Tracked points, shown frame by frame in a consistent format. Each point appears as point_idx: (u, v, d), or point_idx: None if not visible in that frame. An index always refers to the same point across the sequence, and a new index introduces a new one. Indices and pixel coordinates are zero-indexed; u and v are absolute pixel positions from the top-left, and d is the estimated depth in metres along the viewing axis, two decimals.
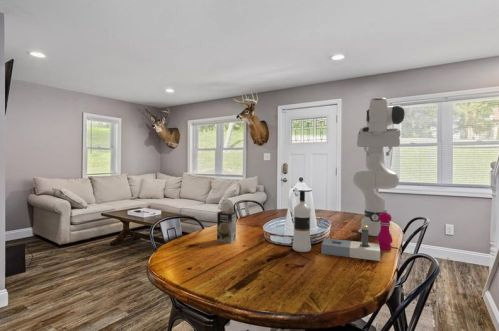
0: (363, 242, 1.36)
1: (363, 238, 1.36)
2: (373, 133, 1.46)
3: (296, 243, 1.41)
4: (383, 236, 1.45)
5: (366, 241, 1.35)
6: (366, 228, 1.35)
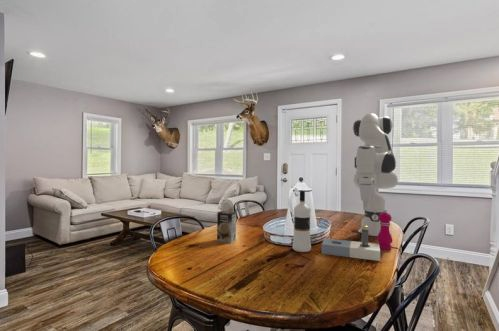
0: (363, 242, 1.36)
1: (363, 238, 1.36)
2: None
3: (296, 243, 1.41)
4: (383, 236, 1.45)
5: (366, 241, 1.35)
6: (366, 228, 1.35)
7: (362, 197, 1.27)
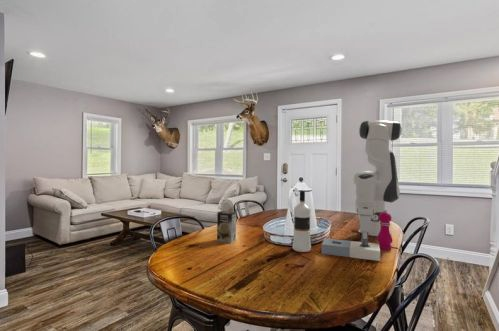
0: (363, 242, 1.36)
1: (363, 238, 1.36)
2: None
3: (296, 243, 1.41)
4: (383, 236, 1.45)
5: (366, 241, 1.35)
6: None
7: (362, 228, 1.28)
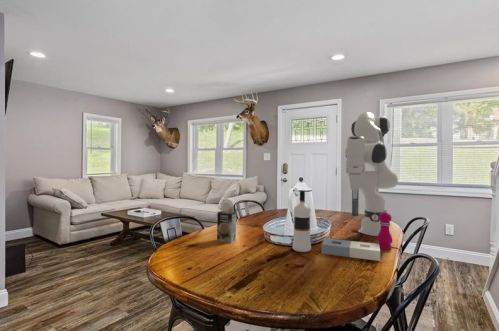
0: (353, 202, 1.37)
1: (353, 198, 1.37)
2: None
3: (296, 243, 1.41)
4: (383, 236, 1.45)
5: (357, 201, 1.36)
6: None
7: (351, 186, 1.29)
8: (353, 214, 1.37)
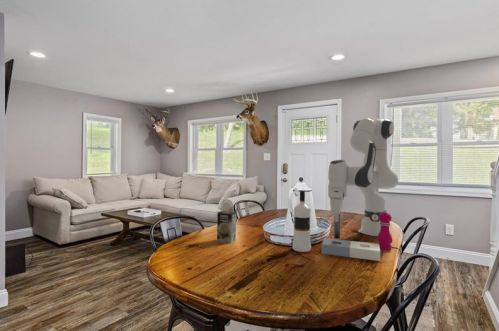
0: (335, 225, 1.40)
1: None
2: None
3: (296, 243, 1.41)
4: (383, 236, 1.45)
5: (338, 224, 1.40)
6: None
7: (332, 211, 1.32)
8: (335, 236, 1.40)
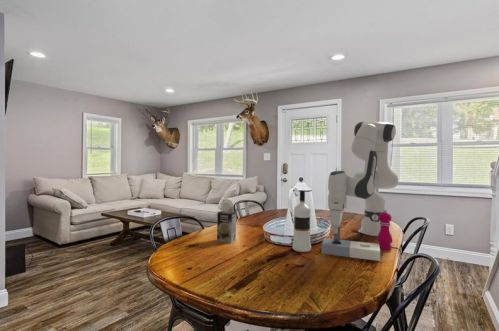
0: (335, 239, 1.41)
1: (335, 235, 1.41)
2: None
3: (296, 243, 1.41)
4: (383, 236, 1.45)
5: (338, 237, 1.40)
6: None
7: (332, 222, 1.33)
8: None
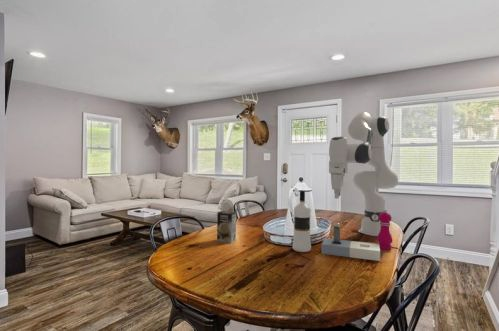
0: (335, 239, 1.41)
1: (335, 235, 1.41)
2: None
3: (296, 243, 1.41)
4: (383, 236, 1.45)
5: (338, 238, 1.40)
6: (337, 225, 1.40)
7: (333, 186, 1.32)
8: None
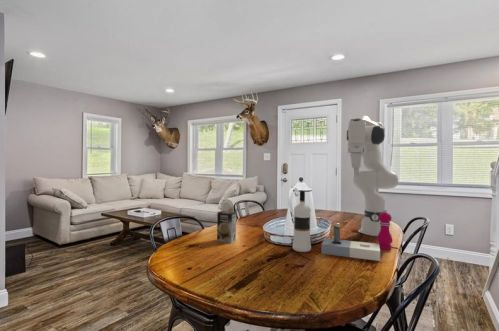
0: (335, 239, 1.41)
1: (335, 235, 1.41)
2: None
3: (296, 243, 1.41)
4: (383, 236, 1.45)
5: (338, 238, 1.40)
6: (337, 225, 1.40)
7: (353, 164, 1.38)
8: None
